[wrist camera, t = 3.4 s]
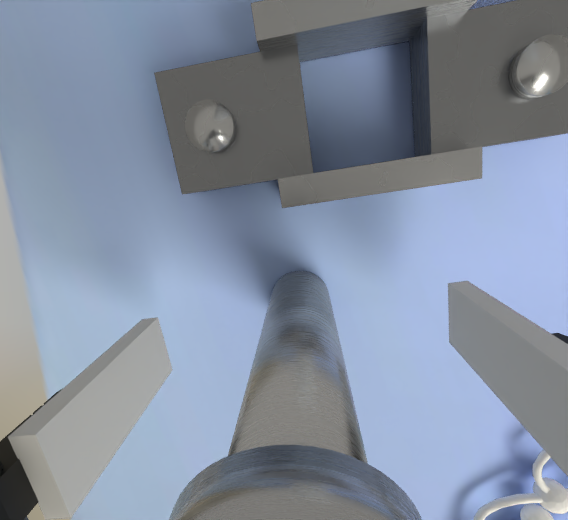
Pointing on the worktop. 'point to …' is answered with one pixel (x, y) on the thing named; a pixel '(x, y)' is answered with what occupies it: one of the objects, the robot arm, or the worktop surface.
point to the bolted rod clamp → (425, 93)
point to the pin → (296, 429)
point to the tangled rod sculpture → (533, 497)
